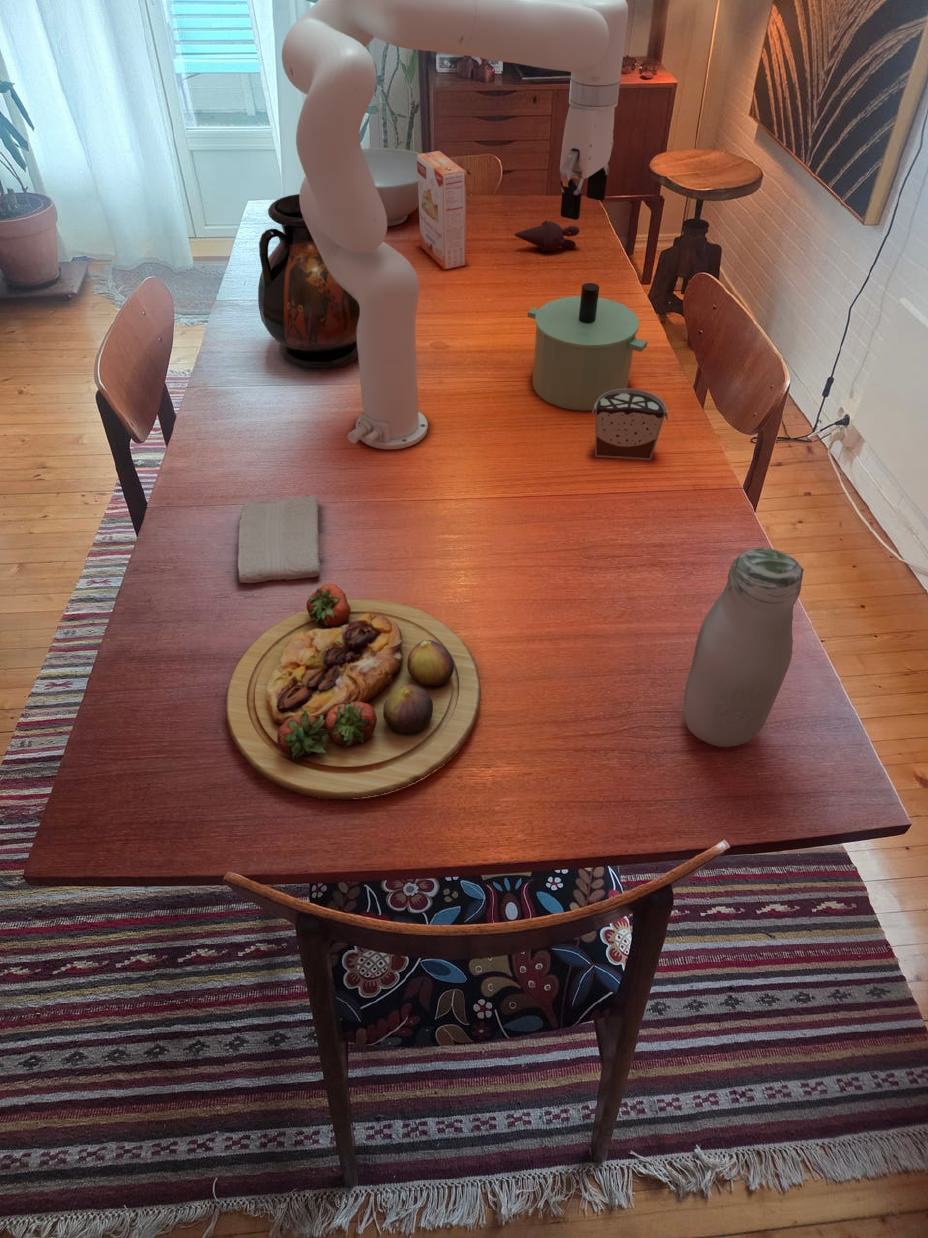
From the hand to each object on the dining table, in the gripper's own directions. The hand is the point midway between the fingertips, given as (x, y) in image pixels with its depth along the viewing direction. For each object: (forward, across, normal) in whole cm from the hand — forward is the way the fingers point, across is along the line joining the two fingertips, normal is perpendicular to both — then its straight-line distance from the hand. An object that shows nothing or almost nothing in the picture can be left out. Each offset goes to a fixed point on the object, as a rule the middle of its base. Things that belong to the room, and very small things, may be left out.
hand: (582, 207), depth 147 cm
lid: (+18, +3, +4) cm, 19 cm away
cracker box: (+31, -32, -48) cm, 65 cm away
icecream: (+31, -48, -29) cm, 64 cm away
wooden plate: (+31, +87, +13) cm, 93 cm away
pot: (+30, +3, +4) cm, 31 cm away
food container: (+31, +18, +20) cm, 40 cm away
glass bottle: (+31, +68, +54) cm, 92 cm away
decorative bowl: (+31, -44, -74) cm, 91 cm away
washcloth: (+31, +68, -14) cm, 76 cm away
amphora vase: (+31, +19, -44) cm, 57 cm away
